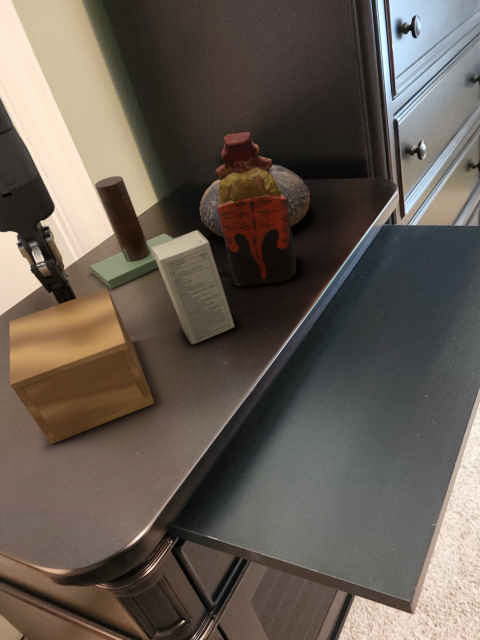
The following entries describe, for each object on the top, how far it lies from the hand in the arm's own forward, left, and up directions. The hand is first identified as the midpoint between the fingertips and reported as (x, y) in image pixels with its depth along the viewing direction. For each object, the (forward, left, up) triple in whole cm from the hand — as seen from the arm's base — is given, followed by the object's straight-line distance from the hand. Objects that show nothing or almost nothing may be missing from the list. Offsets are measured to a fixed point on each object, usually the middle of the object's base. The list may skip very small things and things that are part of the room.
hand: (72, 309), depth 69 cm
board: (0, +20, -4) cm, 21 cm away
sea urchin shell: (+18, +32, -4) cm, 37 cm away
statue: (+22, +14, -4) cm, 27 cm away
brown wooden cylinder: (0, +20, -3) cm, 21 cm away
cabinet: (+7, -11, -4) cm, 14 cm away
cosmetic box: (+18, 0, -5) cm, 19 cm away
